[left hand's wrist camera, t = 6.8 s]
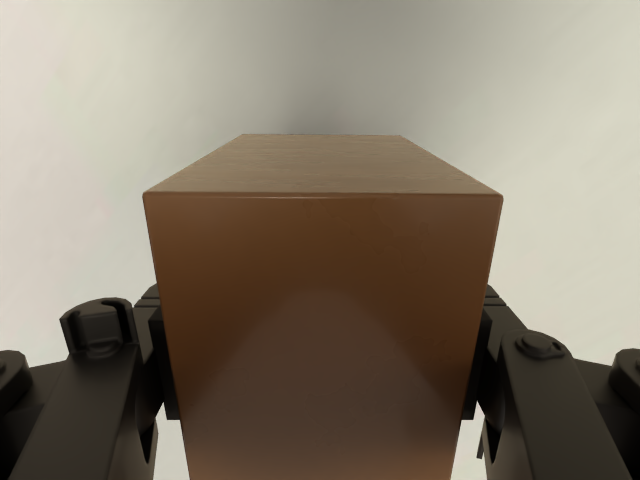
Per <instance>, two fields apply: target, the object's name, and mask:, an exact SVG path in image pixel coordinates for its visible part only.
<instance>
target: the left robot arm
mask: <svg viewBox="0 0 640 480" xmlns="http://www.w3.org/2000/svg"><path fill="white" fill-rule="evenodd" d="M59 320H60V323H61V327H62V330H63V334H64V337H65V340H66V344H67V347H68V350H69V355H68V357H67V359H66V360H65V361H61V362H56V363H51V364H46V365H41V366H35V367H30V368H29V366H28V363H27V361H26V358H25V355H23V354H22V353H20V352H19V351H12V350H5V351H0V480H153V475H154V466H155V458H156V449H157V441H158V428H157V423H156V418H155V417H156V415H157V413H158V411H159V409H160V407H161V405H162V403H163V402H164V407H165V412H166V417H167V420H180V417H179V411H178V405H177V400H176V394H175V388H174V382H173V376H172V370H171V364H170V358H169V352H168V346H167V340H166V334H165V328H164V322H163V316H162V310H161V304H160V299H159V293H158V287H157V283H156V284H155V285H153V286H151V287H150V288H149V289H148V290H147V291H146V292H145V294H144V295H143V296H142V297H141V299H139V301H138V302H137V303H136V304H135V305H134V308H132V304H131V303H130V302H129V301H127V300H126V299H122V298H116V297H114V298H101V299H96V300H92V301H88V302H86V303H83V304H80V305H78V306H76V307H74V308H72V309H71V310H69V311H67V312H66V313H65V314H64V315H63V316H62V317H61V318H60V319H59ZM477 401H478V403H479V405H480V407H481V409H482V411H483V413H484V415H485V418H484V423H483V428H482V432H481V437H480V442H479V447H478V452H477V458H479V459H482V456H483V451H484V457H485V465H486V474H487V480H640V349H634V348H632V349H623V350H621V351H619V352H618V353H617V354H616V356H615V359H614V362H613V364H612V366H608V365H603V364H598V363H593V362H588V361H583V360H578V359H575V358H573V357H572V355H571V353H570V351H569V350H568V349H567V348H566V346H565V345H563V344H562V343H561V342H559V341H558V340H556V339H555V338H553V337H550V336H548V335H546V334H544V333H541V332H537V331H533V330H528V329H527V328H526V326H525V325H524V324H523V323H522V322H521V321H520V319H519V318H518V317H517V316H516V315H515V314H514V313H513V311H512V310H511V309H510V308H509V307H508V306H506V303H505V302H504V301H503V300H502V299H501V298H499V295H498V294H497V293H496V292H495V290H494V289H493V288H492V287H491V286H490V285H488V284H487V289H486V294H485V299H484V304H483V310H482V315H481V320H480V326H479V331H478V336H477V341H476V347H475V352H474V357H473V362H472V368H471V373H470V378H469V383H468V389H467V394H466V399H465V405H464V410H463V415H462V420H473V418H474V413H475V408H476V403H477Z"/></svg>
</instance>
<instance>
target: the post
mask: <svg viewBox="0 0 640 480" xmlns="http://www.w3.org/2000/svg"><path fill="white" fill-rule="evenodd" d="M142 198H143V203H144V209H145V215H146V221H147V227H148V233H149V239H150V245H151V251H152V257H153V263H154V269H155V275H156V281H157V287H158V293H159V299H160V304H161V310H162V316H163V322H164V328H165V334H166V340H167V346H168V352H169V358H170V364H171V370H172V376H173V382H174V388H175V394H176V400H177V405H178V411H179V417H180V423H181V429H182V435H183V441H184V447H185V453H186V459H187V465H188V471H189V477H190V480H450V478H451V473H452V468H453V462H454V457H455V452H456V447H457V441H458V436H459V431H460V426H461V420H462V415H463V410H464V405H465V399H466V394H467V389H468V383H469V378H470V373H471V368H472V362H473V357H474V352H475V347H476V341H477V336H478V331H479V326H480V320H481V315H482V310H483V304H484V299H485V294H486V289H487V283H488V278H489V273H490V268H491V262H492V257H493V252H494V246H495V241H496V236H497V231H498V225H499V220H500V215H501V210H502V204H503V195H502V194H500V193H498V192H496V191H495V190H493V189H491V188H490V187H488V186H486V185H484V184H483V183H481V182H479V181H478V180H476V179H474V178H472V177H471V176H469V175H467V174H465V173H464V172H462V171H460V170H459V169H457V168H455V167H453V166H452V165H450V164H448V163H447V162H445V161H443V160H441V159H440V158H438V157H436V156H434V155H433V154H431V153H429V152H428V151H426V150H424V149H422V148H421V147H419V146H417V145H416V144H414V143H412V142H410V141H409V140H407V139H405V138H403V137H402V136H400V135H273V134H242V135H240V136H239V137H237V138H235V139H234V140H232V141H230V142H229V143H227V144H225V145H223V146H222V147H220V148H218V149H217V150H215V151H213V152H211V153H210V154H208V155H206V156H205V157H203V158H201V159H200V160H198V161H196V162H194V163H193V164H191V165H189V166H188V167H186V168H184V169H182V170H181V171H179V172H177V173H176V174H174V175H172V176H171V177H169V178H167V179H165V180H164V181H162V182H160V183H159V184H157V185H155V186H153V187H152V188H150V189H148V190H147V191H145V192H143V196H142Z"/></svg>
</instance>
